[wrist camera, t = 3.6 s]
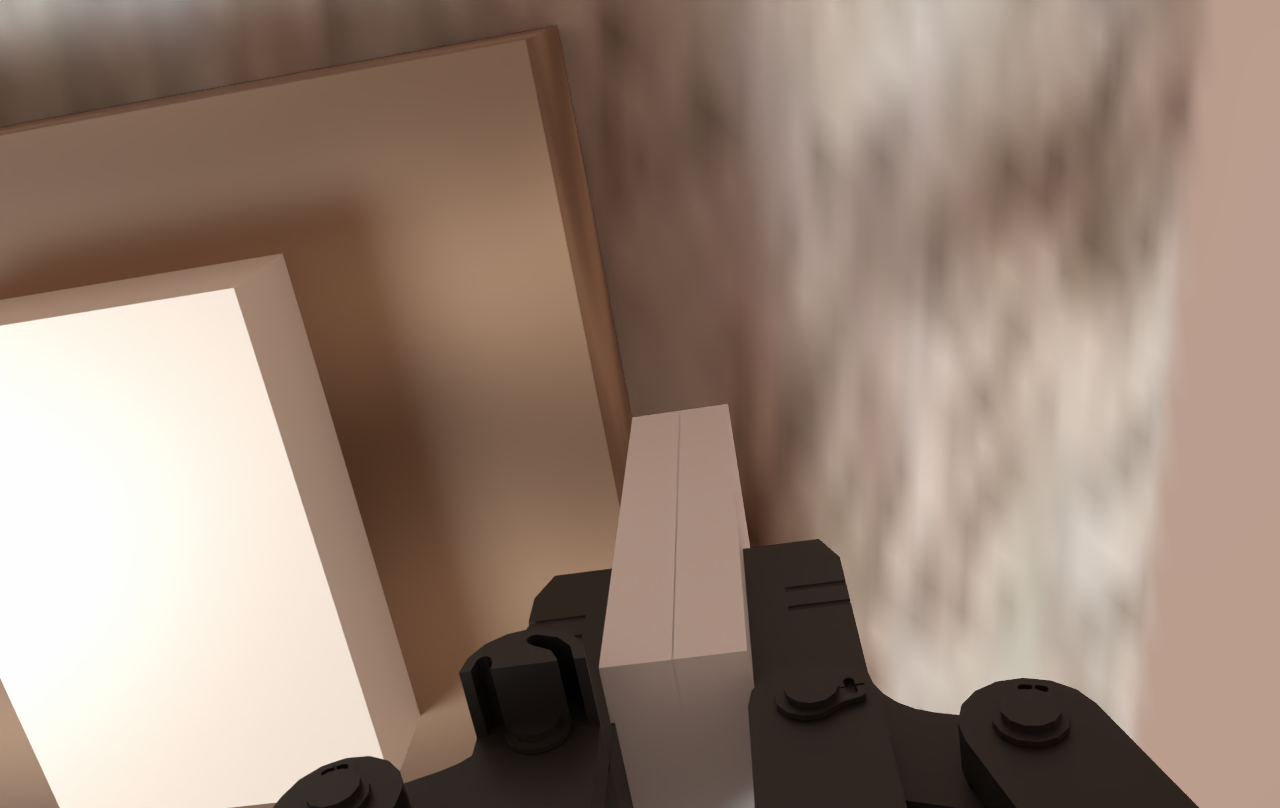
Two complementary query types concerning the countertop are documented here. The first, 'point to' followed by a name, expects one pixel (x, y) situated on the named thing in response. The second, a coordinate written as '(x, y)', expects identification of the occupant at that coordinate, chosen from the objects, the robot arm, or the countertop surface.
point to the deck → (380, 315)
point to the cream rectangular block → (184, 547)
